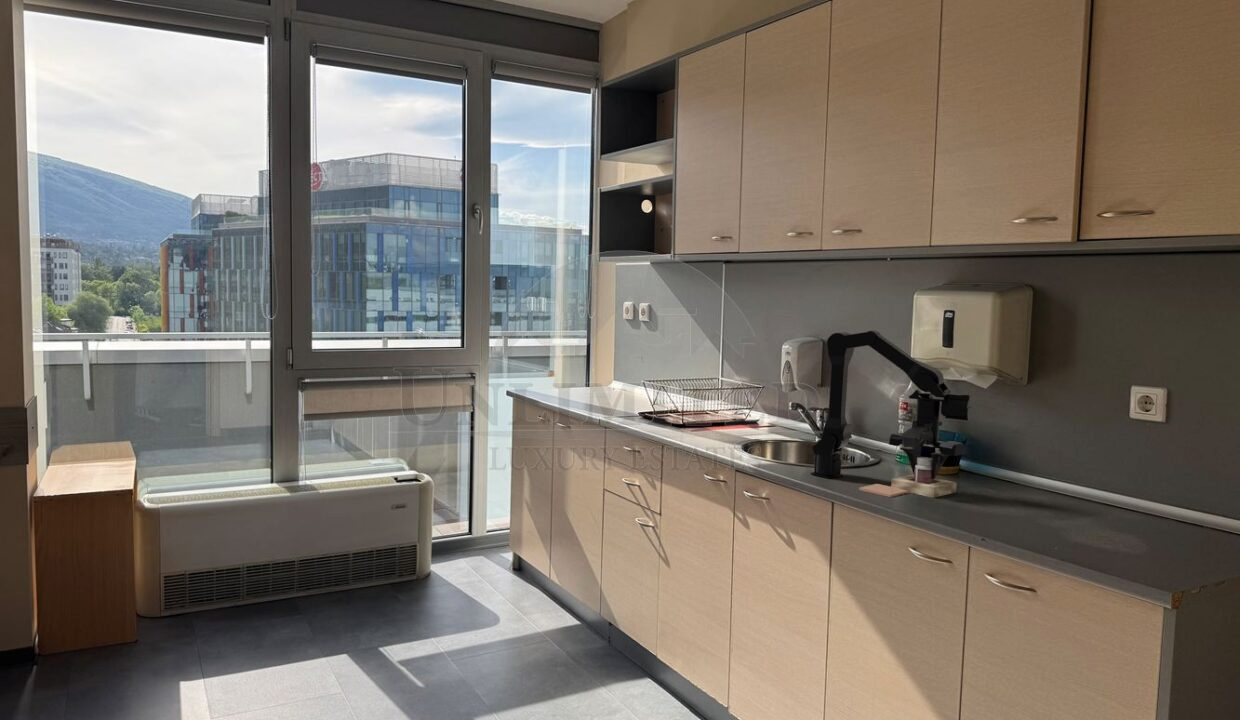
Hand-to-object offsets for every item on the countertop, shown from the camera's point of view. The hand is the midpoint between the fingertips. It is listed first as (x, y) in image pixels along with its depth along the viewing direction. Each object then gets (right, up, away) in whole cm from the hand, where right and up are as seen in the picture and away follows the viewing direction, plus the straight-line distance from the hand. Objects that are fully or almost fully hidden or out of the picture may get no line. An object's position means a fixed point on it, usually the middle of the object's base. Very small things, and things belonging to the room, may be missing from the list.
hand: (924, 476), depth 219 cm
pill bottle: (0, -4, 0) cm, 4 cm away
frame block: (0, -4, 0) cm, 4 cm away
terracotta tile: (-11, -3, -3) cm, 12 cm away
